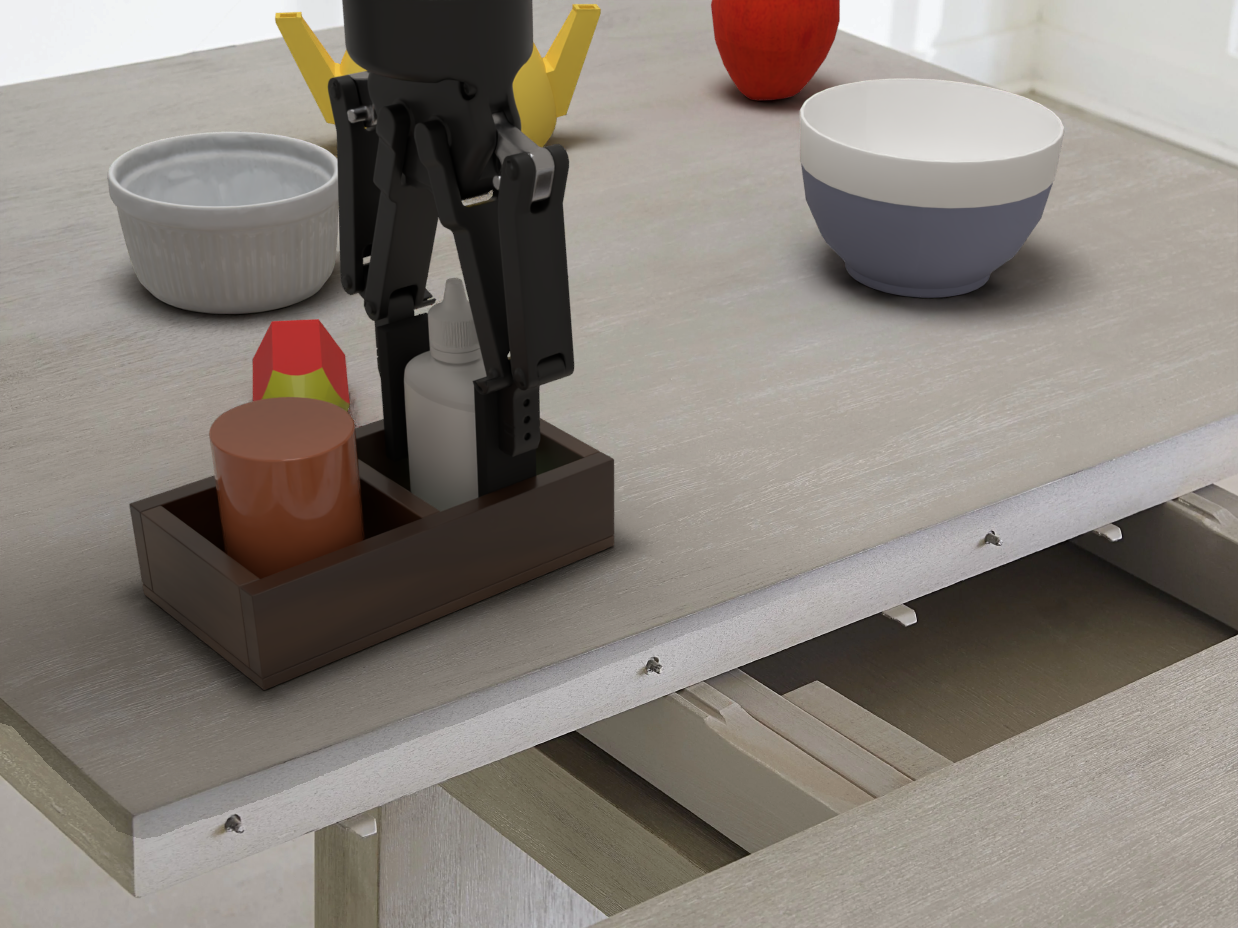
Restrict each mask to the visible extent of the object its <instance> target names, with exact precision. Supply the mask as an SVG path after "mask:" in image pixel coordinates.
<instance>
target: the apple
mask: <svg viewBox="0 0 1238 928" xmlns="http://www.w3.org/2000/svg"><path fill="white" fill-rule="evenodd" d="M840 7H841V0H711V3H710V10H711V19H712V28H713V36H714V42H715V45H716V47H717V51H718V53H719V57H720V58H721V62H722V64H723V67H724V69H725V71H726V72H727V73H728V76H729V77H730V79H731V82H732V83H733V84H734V85H735V87H736V89H737V90H738V91H739V92H740V93H741V94H742V95H743V96H745V97H746V98H747V99H749V100H752V101H757V102H758V101H760V102H761V101H775V100H782V99H783V100H784V99H787V98H791V97H794V96H796V95H798V94H799V93H801V92H802V90H803V89H804V88H805V87H806V86H807V85H808V83H810V82H811V80H812V79H813V77H814V76H815V75H816V73H817V72H818V71H819V69H820V67H821V66H822V64H824V62H825V60H826V59H827V57H828V55H829V53H830V51H831V49H832V46H833V44H834V42H835V41H836V36H837V32H838V29H839V25H840V21H841V8H840Z"/></svg>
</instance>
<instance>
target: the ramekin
mask: <svg viewBox="0 0 1238 928" xmlns="http://www.w3.org/2000/svg"><path fill="white" fill-rule="evenodd" d="M107 186H108V193H109V197H110V199H111V201H112V203H113V205H114V206H115V207H116V209H117V210H116V211H117V215H118V219H119V224H120V227H121V231H122V234H123V239H124V243H125V247H126V250H127V254H128V256H129V260H130V263H131V265H132V268H133V271H134V273H135V276H136V277H137V279H138V281H139V283H140V284H141V285H142V286H143V287H144V288H145V289H146V290H147V291H148V292H149V293H150V294H151V295H152V296H154V297H155V298H156V299H158V300H159V301H161V302H163V303H164V304H167V305H169V306H172V307H175V308H178V309H182V310H186V311H191V312H196V313H205V314H215V315H218V314H219V315H239V314H253V313H264V312H268V311H273V310H278V309H283V308H285V307H289V306H292V305H295V304H298V303H301V302H302V301H305V300H307V299H310V297H312V296H314V295H315V294H317V293H318V292H319V291H320V290H321V289H322V288H323V286H324V285H325V283H326V282H327V281H328V279H329V278H330V277H331V275H332V274H333V271H334V268H335V264H336V260H337V259H336V258H337V248H338V238H339V205H338V165H337V156H336V155H334V154H333V153H332V152H331V151H329V150H327V149H326V148H324V147H322V146H320V145H318V144H315V143H313V142H309V141H306V140H304V139H300V138H297V137H292V136H286V135H281V134H276V133H275V134H274V133H266V132H256V131H255V132H254V131H210V132H209V131H207V132H199V133H198V132H197V133H189V134H181V135H176V136H171V137H165V138H161V139H157V140H152V141H150V142H149V141H148V142H146V143H144V144H141V145H137V146H135V147H133V148H131V149H129V150H127V151H125V152H123V153H122V154H120V155H119V156H117V157H116V158H115V159H114V160H113V161H112V162H111V163H110V165H109V168H108V170H107Z"/></svg>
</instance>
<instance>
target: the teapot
mask: <svg viewBox="0 0 1238 928" xmlns="http://www.w3.org/2000/svg"><path fill="white" fill-rule="evenodd" d="M571 6H572V7H571V10H570V12H569V13H568V15H567V17H566V18H565V21H564V22H563V24H562V26H561V28H560V29H559V31H558V33H557V35H556V36H555V38H554V39H553V42H552V43H551V45H550V47H549V48H548V50H547V52H546V53H545V56H543V57H542V55H541V53H540V51H539V49H538V47H537V45H536V44H535V42H534V41H533V52H532V54H531V57H530V58H529V60H528V61H527V62H526V63H525V64H524V65H523V66H522V67H521V69H520V70H519V71H518V73H517V74H516V76H515V78H514V81H513V93H514V98H515V103H516V106H517V109H518V112H519V115H520V119H521V132H522V133H524V134H525V135H526V136H527V137H528V138H530V139H531V140H532V141H533V142H534V143H536V144H537V145H538V146H539V147H545V145H546V144H547V143H548V141H549V140H550V138H551V137H552V135H553V133H554V132H555V129H556V126H557V122H558V118H560V117H563V116H567V114H568V112H569V108H570V106H571V103H572V99H573V96H574V93H575V91H576V89H577V84H578V81H579V78H580V76H581V73H582V70H583V67H584V64H585V61H586V59H587V56H588V53H589V49H590V47H591V43H592V40H593V37H594V35H595V32H596V29H597V26H598V23H599V20H600V17H601V14H602V9H601V8H600V6H599V5H598V4H597V3H572V5H571ZM274 21H275V25H276V27H277V29H278V31H279V33H280V35H281V36H282V38H283V40H284V42H285V44H286V47H287V48H288V50H289V52H290V54H291V56H292V58H293V60H294V62H295V64H296V66H297V68H298V71H299V72H300V74H301V75H302V78H303V80H304V82H305V83H306V85H307V87H308V89H309V91H310V93H311V95H312V97H313V99H314V102H315V103H316V105H317V107H318V109H319V111H320V113H321V115H322V117H323V119H324V121H325V123H326V124H330V125H334V126H335V122H334V117H333V112H332V108H331V103H330V98H329V93H328V82H329V80H330V79H331V78H334V77H339V76H343V75H348V74H353V73H358V72H363V71H367V70H365V69H363V68H362V67H360V66H359V65H357V64H356V63H355V62H354V61H353V60H352V59H351V58H350V56H349V54H348V52H347V50H346V49H345V51H344V53H343V56H342V57H341V60H340V63H339V62H335V60H334V59H333V58H332V57H331V55H330V53H329V52H328V51H327V49H326V48H325V47H324V45H323V44H322V42H321V41H320V39H319V38H318V37H317V35H316V34H315V32H314V31H313V30H312V28H311V26H310V25H309V24H308V23H307V21H306V20H305V18H304V17H303V13H302V11H287V12H286V11H283V12H275V16H274ZM365 129H366V128H365Z"/></svg>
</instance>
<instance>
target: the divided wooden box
mask: <svg viewBox="0 0 1238 928" xmlns="http://www.w3.org/2000/svg"><path fill="white" fill-rule="evenodd" d="M539 419H540V427H539V428H540V442H539V445H538V448H536V476H534V477H532V478H529V479H526V480H524V481H521V482H518V483H516V484H513V485H510V486H508V487H505V488H502V489H500V490H497V491H494V492H492V493H489V494H486V495H484V496H481V497H478V498H476V499H473V500H470V501H468V502H465V503H462V504H460V505H457V506H454V507H452V508H449V509H446V510H444V511H441V512H440V511H439V510H438V509H436V508H435V507H433V506H431V505H430V504H428V503H427V502H425V501H424V500H422V499H420V498H419V497H417V496H416V495H414V494H413V493H411V486H410V471H409V457H408V458H405V459H402V460H399V461H396V462H395V461H393V460H391V459H390V458H388V457H387V456H386V446H385V432H384V420H383V418H382V419H379V420H376V421H373V422H370V423H367V424H363V425H361V426H357V427H355V430H356V441H357V453H358V464H359V476H360V488H361V499H362V511H363V522H364V534H365V540H363V541H361V542H358V543H355V544H353V545H350V546H347V547H345V548H342V549H339V550H337V551H334V552H331V553H329V554H326V555H323V556H321V557H318V558H315V559H313V560H310V561H307V562H305V563H302V564H299V565H297V566H294V567H291V568H289V569H286V570H283V571H281V572H278V573H275V574H273V575H270V576H267V577H265V578H262V579H259V578H258V577H257V576H255V575H254V574H253V573H251V572H250V571H249V570H247V569H246V568H245V567H243V566H242V565H241V564H239V563H238V562H236V561H235V560H234V559H232V558H231V557H230V556H228V555H227V554H226V553H225V549H224V542H223V535H222V527H221V520H220V512H219V505H218V498H217V490H216V483H215V475H214V474H213V475H210V476H208V477H205V478H202V479H198V480H196V481H193V482H190V483H187V484H184V485H181V486H178V487H175V488H172V489H169V490H166V491H163V492H160V493H157V494H154V495H151V496H148V497H145V498H142V499H139V500H136V501H133V502H129V504H128V507H129V512H130V519H131V525H132V530H133V536H134V542H135V548H136V549H135V550H136V554H137V560H138V566H139V572H140V578H141V583H142V590H143V595H144V596H146V597H147V598H149V599H150V600H151V601H152V602H153V603H155V604H156V606H158V607H159V608H160V609H162V610H163V611H164V612H166V613H167V614H168V615H170V616H171V617H172V618H173V619H174V620H176V621H177V622H178V623H180V624H181V625H182V626H183V627H184V628H186V629H187V630H188V631H189V632H191V633H192V634H193V635H195V636H196V637H197V638H198V639H199V640H200V641H202V642H203V643H205V644H206V645H207V646H208V647H210V648H211V649H212V650H214V652H216V653H217V654H218V655H220V656H221V657H222V658H223V659H224V660H226V662H228V663H230V664H231V665H232V666H233V667H234V668H236V669H237V670H238V671H239V672H241V673H242V674H243V675H245V676H246V677H247V678H248V679H250V681H252V682H253V683H254V684H256V685H257V686H258V687H259V688H261V689H262V690H263V691H266V690H269V689H271V688H273V687H275V686H278V685H280V684H283V683H285V682H288V681H290V680H293V679H295V678H298V677H300V676H302V675H306V674H307V673H309V672H312V671H314V670H317V669H319V668H321V667H324V666H326V665H329V664H331V663H334V662H335V661H338V660H342V659H343V658H346V657H349V656H351V655H353V654H355V653H358V652H360V651H363V650H365V649H368V648H370V647H372V646H375V645H377V644H380V643H382V642H384V641H387V640H389V639H392V638H394V637H397V636H398V635H401V634H404V633H406V632H408V631H412V630H414V629H416V628H418V627H421V626H424V625H426V624H428V623H430V622H433V621H435V620H438V619H440V618H443V617H445V616H447V615H450V614H453V613H454V612H457V611H459V610H462V609H464V608H466V607H467V608H468V607H469V606H471V605H474V604H477V603H479V602H481V601H483V600H486V599H489V598H491V597H494V596H496V595H498V594H500V593H503V592H506V591H507V590H510V589H512V588H515V587H517V586H518V587H519V586H520V585H523V584H526V583H527V582H529V581H532V580H534V579H537V578H540V577H541V576H544V575H546V574H549V573H551V572H553V571H556V570H559V569H562V568H563V567H566V566H568V565H570V564H573V563H575V562H578V561H580V560H583V559H585V558H588V557H591V556H593V555H595V554H597V553H600V552H602V551H604V550H607V549H610V548H611V547H614V546H615V458H613V457H611V455H610V456H609V455H608V454H606V453H604V452H602V451H600V450H599V449H596V448H595V447H593V446H591V445H590V444H588V443H586V442H584V441H582V440H581V439H579V438H577V437H576V436H573V435H571V434H570V433H568V432H566V431H565V430H563V429H561V428H559V427H558V426H556V425H553V424H552V423H550V422H548V421H547V420H545V419H543V418H541V417H540V418H539Z"/></svg>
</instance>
